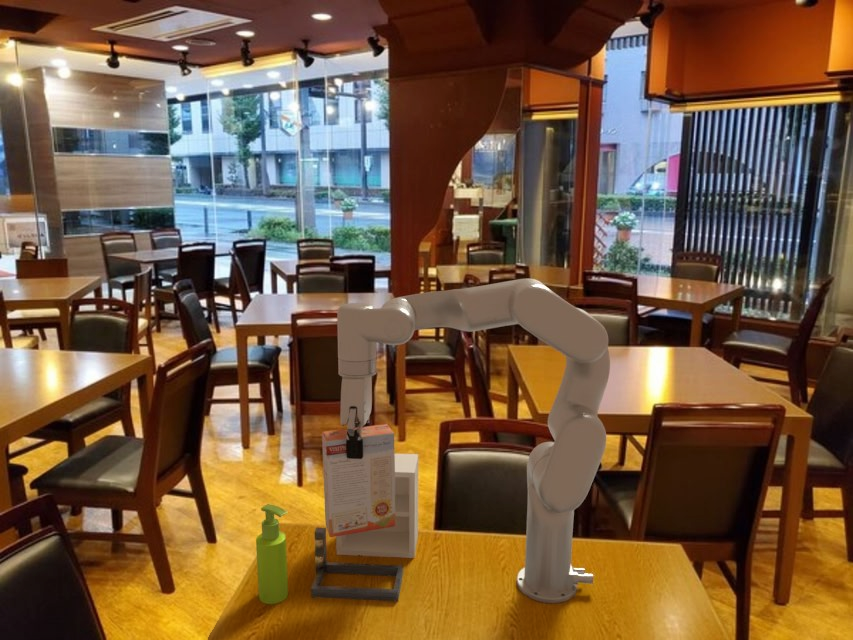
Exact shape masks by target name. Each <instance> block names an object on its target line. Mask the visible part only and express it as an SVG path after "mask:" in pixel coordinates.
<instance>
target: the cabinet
mask: <svg viewBox="0 0 853 640" xmlns="http://www.w3.org/2000/svg"><path fill="white" fill-rule="evenodd" d="M394 453H395V452H394ZM395 523H396V525H395V526H394V527H388V528H382V529H376V530H370V531H364V532H359V533H353V534H347V535H341V536H336V537H335V538H336V539H335V541H336V542H335V543H336V556H337V555H338V556H358V555H360V556H361V555H362V557H380V558H381V557H386V558H404V559H405V558H407V559H415V558H416V550H417V543H418V538H419V537H418V536H419V454H417V453H395Z"/></svg>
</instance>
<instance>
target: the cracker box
mask: <svg viewBox="0 0 853 640" xmlns="http://www.w3.org/2000/svg"><path fill="white" fill-rule="evenodd" d="M355 430H357V432H358V428H355ZM346 437H347V428H343V429H334V430H327V431H322V432H321V441H322V442H321V444H322V445H321V446H322V466H323V467H322V471H323V490H324V491H323V492H324V495H323V496H324V519H325V526H326V527H325V528H326V531H327V533H328V535H329V537H330V538H334V537H335V538H336V536H341V535H347V534H353V533H359V532H364V531H370V530H376V529H382V528H388V527H394V526H395V525H396V523H395V432H394V431H393V430H392V428H391V427H390V426H389V425H388V423H383V424H378V425H375V424H374V425H370V426H367V427H362V436H361V439H363V458H362V459H348V458H347V451H346Z"/></svg>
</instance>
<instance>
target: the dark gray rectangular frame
mask: <svg viewBox="0 0 853 640" xmlns="http://www.w3.org/2000/svg"><path fill="white" fill-rule="evenodd" d="M314 530H315V531H314V555H315V557H314V559H315V560H314V561H315V562H314V563H315V574H316V575H315V579H314V580H313V582H312V586H311V588H310V591H311V598H320V599H321V598H323V599H327V598H328V599H343V600H345V599H346V600H363V601H364V600H366V601H367V600H368V601H381V602H382V601H386V602H399V597H400V593H401V588H402V587H401V585H402V582H403V575H404V565H397V564H395V565H394V564H375V563H374V564H373V563H353V562H335V561H334V562H331V561H330V562H328V560H327V557H328V556H327V527H317V526H316V528H315V529H314ZM325 574H339V575H341V574H342V575H359V574H360V575H361V576H362V575H363V576H365V575H366V576H382V577H383V576H386V577H395V582H394V586H393V589H392V588H372V587H371V588H369V587H355V586H354V587H351V586H350V587H349V586H334V585H333V586H332V585H331V586H330V585H329V586H328V585H322V583H323V580H324V578H325Z"/></svg>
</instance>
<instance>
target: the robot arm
mask: <svg viewBox="0 0 853 640" xmlns="http://www.w3.org/2000/svg"><path fill="white" fill-rule="evenodd" d="M336 314H337V318H336V320H337V322H336V324H337V326H336V327H337V358H338V359H337V361H338V363H337V364H338V366H337V367H338V375H339V376H340V377H341V378H342V379H341V387H340V388H341V389H340V416H339V417H340V419H339V421H340V425H341V426H342V427H344V426H346V425H347V426H346V429H347V437H346V451H347V458H348V459H362V458H363V439H361V436H362V427H367V426H371V424H370V415H371V413H372V409H373V408H372V407H373V406H372V405H373V389H372V388H373V387H372V386H373V385H372V383H373V381H372V379H373V377H374V376H375V375H376V374H377V373H378V372H377V343H378V344H384V345H389V346H400V345H404V344H406V343H407V342H409V341H410V340H411V339H412V337H413V336H414V333H415V331H418V330H423V329H431V328H432V329H433V328H451V329H455V330H458V331H462V332H477V331H478V332H479V331H483V330H489V329H496V328H500V327H505V326H506V327H507V326H514V325H518V326H521V328H523V329H524V330H525V331H527V332H529V333H530V334H532V335H533V336H534V337H536V338H537V339H539V341H542V342H543V343H544V344H546V345H548V346H550V347H551V348H553V349H554V350H556V351H557V352H559V353H561V354H562V355H564V356H565V361H566V362H565V368H564V373H563V375H562V379H561V383H560V385H559V386H558V387H559V388H558V391H557V393H556V396H555V398H554V401H553V403H552V406H551V409H550V411H549V413H548V416H547V426H548V429H549V432H550V434H551V436H552V438H553V440H554V441H544V442H542V443H539V444H538V445H537V446H535V447H534V448H533V449H532V451H531V452H530V453H529V456H528V459H527V464H526V481H527V482H526V485H527V508H526V509H527V512H526V530H525V531H526V535H525V536H526V537H525V554H524V555H525V558H524V559H525V560H524V567H523V568H521V569H520V570H519V571H518V572H517V576H516V585H517V588H518V589H519V590H520V592H521V593H522V594H523V595H525V596H526V597H528V598H530V599H532V600H534V601H537V602H541V603H545V604H546V603H547V604H558V603H562V602H566V601H568V600H571V599H572V598H573V597H574V596H575V595H576V593H577V591H578V584H581V583H582V584H593V583H594V575H593V573H586V569H585V567H574V566H572V548H573V532H574V530H573V529H574V521H575V520H574V516H575V510H576V509H577V508H579V507H580V506H581V505H582V503H583V502H584V500H586V497H587V496H588V493H589V491H590V489H591V486H592V483H593V481H594V479H595V477H596V474H597V472H598V470H599V468H600V467H599V466H600V464H601V462H602V459H603V456H604V453H605V451H606V444H607V432H606V428H605V426H604V423H603V422H602V421H601V418H599V416H598V414H599V410H600V405H601V403H602V400H603V397H604V393H605V391H606V387H607V384H608V380H609V376H610V369H611V357H610V351H609V336H608V331H607V329H606V328H605V326H604V325H603V324H602V323H601V322H600V321H599V320H597V319H596V318H595V317H593V315H591V314H590V313H589V312H587V311H586V310H584V309H582V308H579V307H576V306H575V305H572V304H571V303H569V301H567V300H565V299H563V297H561V296H559V294H557V293H555V292H554V291H553V290H552V289H550V288H549V287H547V286H546V285H545V284H544V283H543V282H541V281H539V280H538V279H535V278H527V277H526V278H518V279H514V280H507V281H506V280H505V281H501V282H497V283H490V284H486V285H485V284H484V285H478V286H471V287H466V288H457V289H456V288H455V289H448V290H438V291H435V290H434V291H427V292H421V293H414V294H409V295H404V296H398V297H394V298H391V299H389V300H387V301H386V302H384V304H383V305H382V306H381V307H380V308H378V307H377V308H376V307H375V306H374V305H372V304H369V303H366V302H365V303H364V302H350V303H345V304H342V305H340V306H339V307H338V309H337V312H336ZM355 428H358V432H357V430H355Z"/></svg>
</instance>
